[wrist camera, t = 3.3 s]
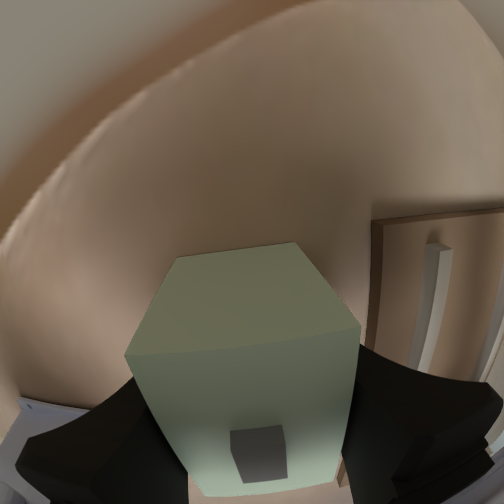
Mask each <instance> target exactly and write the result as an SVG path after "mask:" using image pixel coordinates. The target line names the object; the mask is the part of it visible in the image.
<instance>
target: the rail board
mask: <svg viewBox="0 0 504 504" xmlns="http://www.w3.org/2000/svg"><path fill="white" fill-rule="evenodd" d="M371 229H372V243H371V279H370V297H369V310H368V321H367V331H366V340H365V347H367V348H368V349H370V350H372V351H374V352H375V353H377V354H379V355H381V356H383V357H385V358H387V359H389V360H392V361H394V362H396V363H398V364H401V365H403V366H406V367H409V368H411V369H414V370H417V371H421V372H424V373H427V374H431V375H435V376H439V377H444V378H449V379H455V380H462V381H474V382H485V381H486V379H487V377H488V375H489V373H490V370H491V368H492V366H493V364H494V361H495V359H496V356H497V354H498V351H499V349H500V346H501V343H502V341H503V338H504V208H496V209H484V210H472V211H461V212H450V213H439V214H429V215H419V216H409V217H399V218H390V219H380V220H371ZM485 450H486V451H487V453H488V454H489V456H491V455H492V454H493V452H492V451H491V449H490V448H489V446H488V447H487V448H486V449H485ZM337 481H338V484H339V488H340V487H344V486H347V485H350V484H349V480H348V476H347V472H346V468H345V464H344V460H342V464H341V467H340V470H339V474H338V477H337Z"/></svg>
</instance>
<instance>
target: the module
mask: <svg viewBox="0 0 504 504" xmlns="http://www.w3.org/2000/svg"><path fill="white" fill-rule="evenodd" d="M360 334H361V325H360V323H359V322H358V321H357V319H356V318H355V317H354V316H353V314H352V313H351V312H350V310H349V309H348V308H347V306H346V305H345V304H344V303H343V301H342V300H341V299H340V297H339V296H338V295H337V294H336V292H335V291H334V290H333V289H332V287H331V286H330V285H329V283H328V282H327V281H326V280H325V278H324V277H323V276H322V275H321V273H320V272H319V271H318V270H317V268H316V267H315V266H314V265H313V264H312V262H311V261H310V260H309V259H308V257H307V256H306V255H305V254H304V252H303V251H302V250H301V249H300V248H299V246H298V245H297V244H296V243H295V242H291V243H283V244H275V245H268V246H260V247H253V248H245V249H237V250H230V251H222V252H215V253H207V254H200V255H192V256H185V257H177V258H176V260H175V261H174V263H173V265H172V267H171V268H170V270H169V272H168V274H167V275H166V277H165V279H164V281H163V282H162V284H161V286H160V288H159V290H158V291H157V293H156V295H155V297H154V299H153V300H152V302H151V304H150V306H149V308H148V310H147V312H146V313H145V315H144V317H143V319H142V321H141V323H140V325H139V327H138V329H137V330H136V332H135V334H134V336H133V338H132V340H131V342H130V344H129V346H128V348H127V350H126V352H125V354H124V356H125V358H126V360H127V363H128V365H129V367H130V370H131V372H132V374H133V376H134V378H135V380H136V383H137V385H138V387H139V389H140V391H141V393H142V395H143V397H144V399H145V401H146V403H147V405H148V407H149V409H150V410H151V412H152V414H153V416H154V418H155V420H156V422H157V423H158V425H159V427H160V429H161V430H162V432H163V434H164V436H165V437H166V439H167V441H168V442H169V444H170V446H171V447H172V449H173V450H174V452H175V454H176V455H177V457H178V458H179V460H180V461H181V463H182V464H183V466H184V467H185V469H186V470H187V472H188V473H189V475H190V476H191V477H192V479H193V480H194V482H195V483H196V484H197V486H198V487H199V489H200V490H201V491H202V493H203V494H204V495H205V496H206V497H226V496H244V495H256V494H266V493H274V492H281V491H287V490H293V489H299V488H304V487H309V486H314V485H318V484H323V483H327V482H331V481H333V480H334V476H335V473H336V469H337V465H338V461H339V457H340V453H341V449H342V445H343V441H344V436H345V432H346V427H347V422H348V417H349V412H350V406H351V401H352V395H353V389H354V382H355V375H356V368H357V361H358V352H359V344H360Z"/></svg>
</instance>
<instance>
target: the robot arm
mask: <svg viewBox="0 0 504 504" xmlns="http://www.w3.org/2000/svg"><path fill="white" fill-rule="evenodd" d="M17 402H18V404H19V405H20V407H21V408H22V410H21V412H20V413H19V415H18V417H17V418H16V420H15V421H14V423H13V425H12V426H11V428H10V430H9V431H8V433H7V435H6V436H5V438H4V440H3V442H2V443H1V445H0V504H189V499H188V472H187V470H186V469H185V467H184V466H183V464H182V463H181V461H180V460H179V458H178V457H177V455H176V454H175V452H174V450H173V449H172V447H171V446H170V444H169V442H168V441H167V439H166V437H165V436H164V434H163V432H162V430H161V429H160V427H159V425H158V423H157V422H156V420H155V418H154V416H153V414H152V412H151V410H150V409H149V407H148V405H147V403H146V401H145V399H144V397H143V395H142V393H141V391H140V389H139V387H138V385H137V383H136V380H135V378H134V376H133V377H132V378H131V379H130V380H129V381H128V382H127V383H126V384H125V385H124V386H123V387H121V388H120V389H119V390H118V391H117V392H116V393H114V394H113V395H112V396H110V397H109V398H108V399H106V400H105V401H104V402H102V403H101V404H99V405H98V406H96V407H95V408H93V409H92V410H86V409H79V408H72V407H66V406H61V405H55V404H50V403H45V402H40V401H36V400H32V399H28V398H24V397H19V398H18V399H17ZM502 407H503V399H502V398H501V397H500V396H499V395H498V394H497V392H496V391H495V390H494V389H493V388H492V387H491V386H490V385H489V384H488V383H487V382H474V381H462V380H455V379H449V378H444V377H439V376H435V375H431V374H427V373H424V372H421V371H417V370H414V369H411V368H409V367H406V366H403V365H401V364H398V363H396V362H394V361H392V360H389V359H387V358H385V357H383V356H381V355H379V354H377V353H375V352H374V351H372V350H370V349H368V348H367V347H365V346H363V345H362V344H359V352H358V361H357V368H356V375H355V382H354V389H353V395H352V401H351V406H350V412H349V417H348V422H347V427H346V432H345V436H344V441H343V445H342V449H341V453H342V457H343V460H344V464H345V468H346V472H347V476H348V480H349V484H350V488H351V493H352V497H353V502H354V504H504V447H503V448H501V449H500V450H499V451H498V452H497V453H495V454H494V455H493V456H492V457H490V456H489V454H488V453H487V451H486V450H485V449H486V448H487V447H488V442H487V441H486V439H485V438H484V437H485V435H486V434H487V433H488V431H489V430H490V428H491V427H492V425H493V424H494V422H495V421H496V419H497V418H498V416H499V414H500V413H501V410H502Z"/></svg>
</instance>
